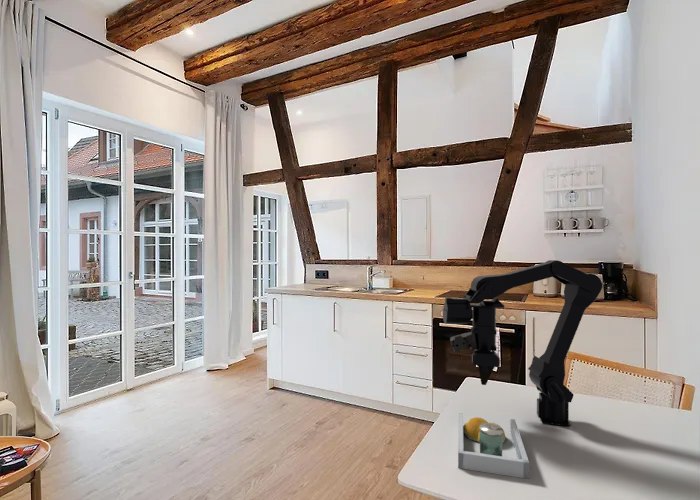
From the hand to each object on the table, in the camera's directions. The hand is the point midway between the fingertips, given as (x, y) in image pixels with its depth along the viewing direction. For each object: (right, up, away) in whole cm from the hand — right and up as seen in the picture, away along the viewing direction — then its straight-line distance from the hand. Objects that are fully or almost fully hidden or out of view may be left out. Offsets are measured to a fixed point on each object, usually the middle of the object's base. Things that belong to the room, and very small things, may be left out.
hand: (483, 384), depth 99 cm
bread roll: (-3, -9, -10) cm, 14 cm away
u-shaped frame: (-4, -9, -15) cm, 18 cm away
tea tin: (-5, -9, -19) cm, 22 cm away
